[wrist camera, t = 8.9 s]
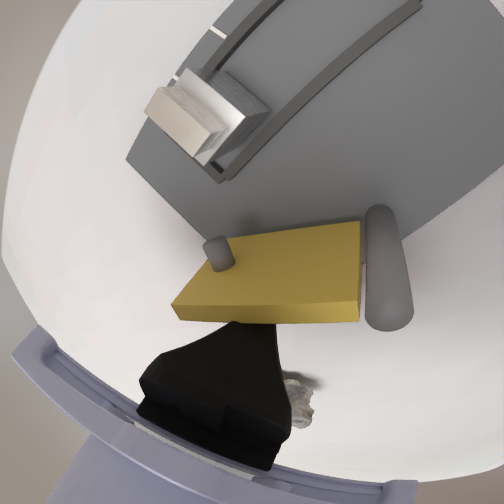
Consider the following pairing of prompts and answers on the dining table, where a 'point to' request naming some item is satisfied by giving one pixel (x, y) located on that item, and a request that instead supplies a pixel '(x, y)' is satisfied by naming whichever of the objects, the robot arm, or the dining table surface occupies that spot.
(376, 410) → the dining table surface
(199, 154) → the fader knob
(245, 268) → the door
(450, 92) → the console
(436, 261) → the dining table surface
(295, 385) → the stone
